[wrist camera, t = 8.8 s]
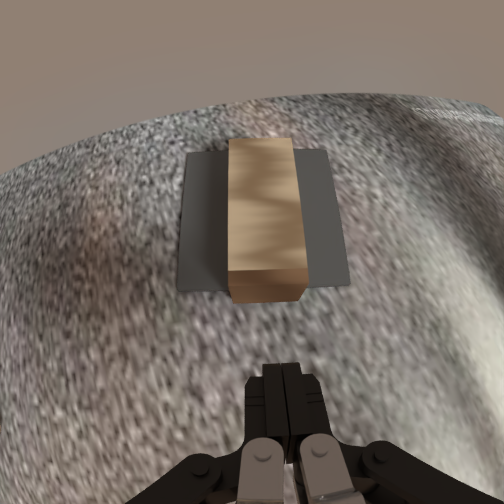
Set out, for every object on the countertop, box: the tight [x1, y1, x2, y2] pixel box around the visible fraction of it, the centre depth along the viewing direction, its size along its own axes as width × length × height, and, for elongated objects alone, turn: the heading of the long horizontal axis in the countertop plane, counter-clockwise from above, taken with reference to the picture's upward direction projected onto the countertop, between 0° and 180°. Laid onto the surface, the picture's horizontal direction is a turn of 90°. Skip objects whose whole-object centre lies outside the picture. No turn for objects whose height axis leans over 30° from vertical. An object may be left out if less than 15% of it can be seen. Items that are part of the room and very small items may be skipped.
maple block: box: [228, 138, 309, 304], centre depth 23 cm, size 5×5×12 cm
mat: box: [177, 149, 351, 292], centre depth 26 cm, size 14×14×1 cm
